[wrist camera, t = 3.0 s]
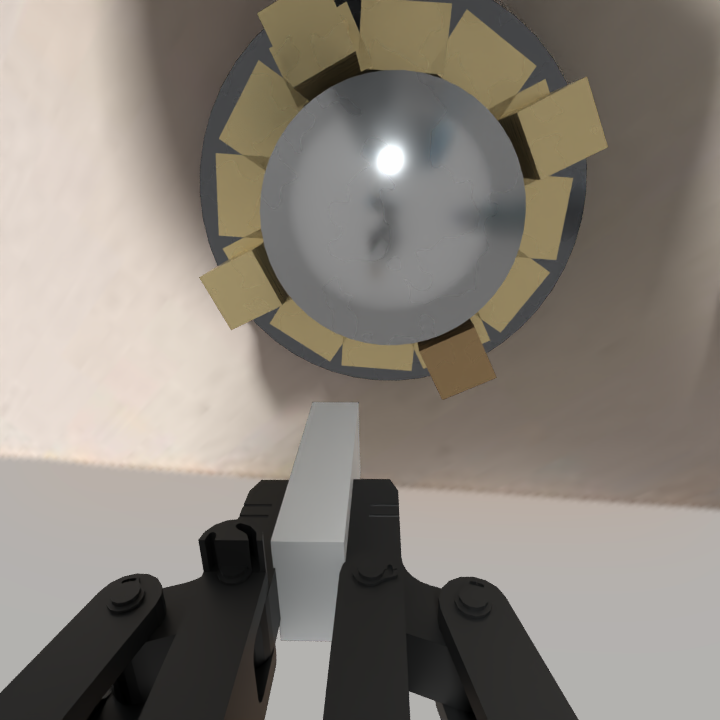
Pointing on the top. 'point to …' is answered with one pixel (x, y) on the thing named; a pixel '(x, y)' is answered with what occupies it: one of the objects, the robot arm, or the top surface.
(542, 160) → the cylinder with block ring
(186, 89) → the top surface
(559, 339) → the top surface
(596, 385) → the top surface
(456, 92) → the cap plate
